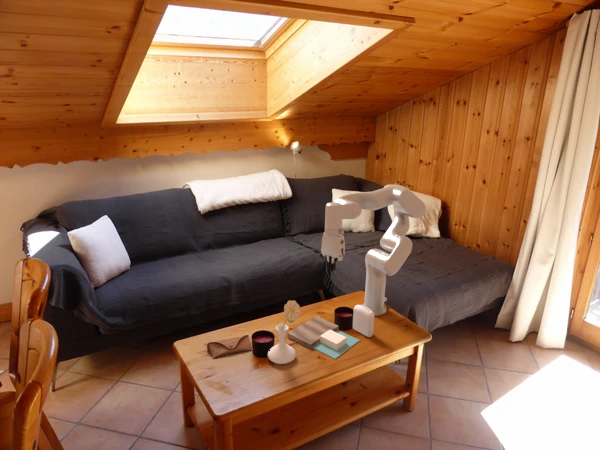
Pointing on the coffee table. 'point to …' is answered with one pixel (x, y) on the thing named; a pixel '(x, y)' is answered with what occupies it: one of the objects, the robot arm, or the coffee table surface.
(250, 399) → the coffee table surface
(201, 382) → the coffee table surface
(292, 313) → the flower in vase
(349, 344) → the mat
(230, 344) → the sunglasses case
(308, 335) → the riser
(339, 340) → the white flat block
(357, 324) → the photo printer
